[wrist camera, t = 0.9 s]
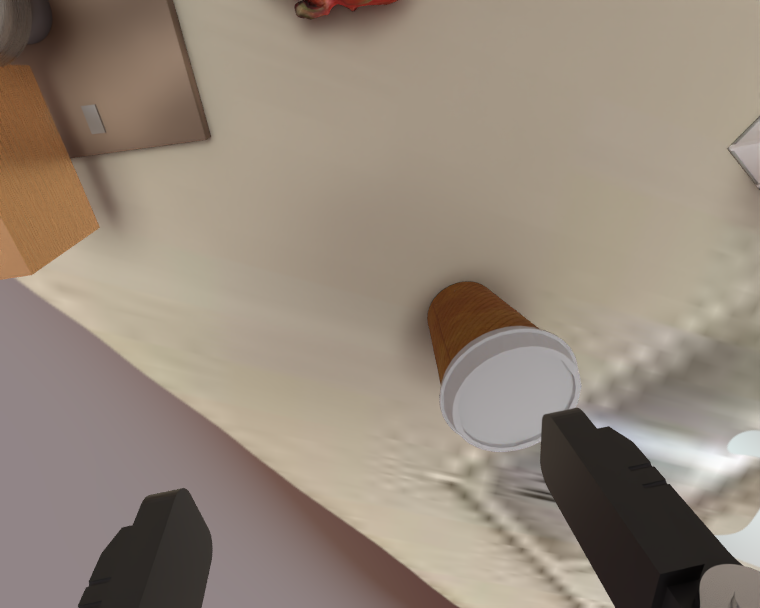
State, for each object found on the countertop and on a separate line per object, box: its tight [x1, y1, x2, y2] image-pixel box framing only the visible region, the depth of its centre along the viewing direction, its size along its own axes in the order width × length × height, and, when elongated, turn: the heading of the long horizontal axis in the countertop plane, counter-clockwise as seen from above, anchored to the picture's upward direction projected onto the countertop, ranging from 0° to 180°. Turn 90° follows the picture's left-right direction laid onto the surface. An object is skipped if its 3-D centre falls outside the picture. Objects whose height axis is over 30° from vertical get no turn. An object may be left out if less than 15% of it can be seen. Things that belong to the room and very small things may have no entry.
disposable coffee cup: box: [427, 282, 581, 452], centre depth 33 cm, size 10×10×12 cm
